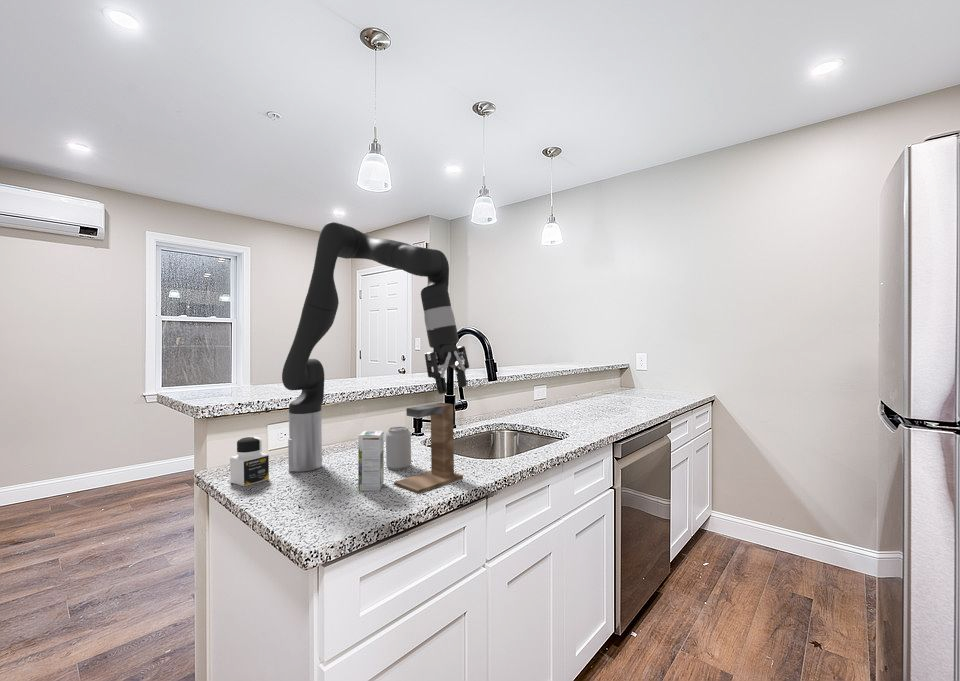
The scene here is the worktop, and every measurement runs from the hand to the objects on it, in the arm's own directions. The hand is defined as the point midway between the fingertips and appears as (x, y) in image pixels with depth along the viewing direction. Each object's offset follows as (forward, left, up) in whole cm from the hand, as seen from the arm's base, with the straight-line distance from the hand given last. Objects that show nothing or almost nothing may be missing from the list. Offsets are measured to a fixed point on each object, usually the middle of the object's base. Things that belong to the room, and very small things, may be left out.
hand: (453, 390), depth 108 cm
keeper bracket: (-4, +12, -26) cm, 29 cm away
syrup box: (-20, +12, -26) cm, 35 cm away
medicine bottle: (-52, +29, -26) cm, 65 cm away
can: (-11, +28, -26) cm, 40 cm away
